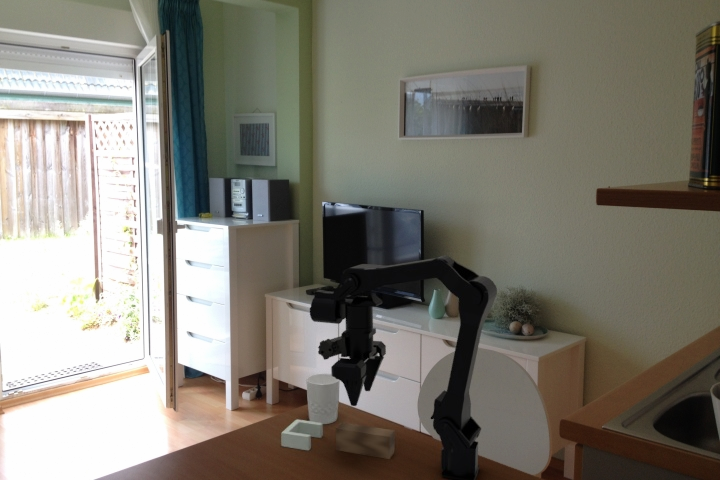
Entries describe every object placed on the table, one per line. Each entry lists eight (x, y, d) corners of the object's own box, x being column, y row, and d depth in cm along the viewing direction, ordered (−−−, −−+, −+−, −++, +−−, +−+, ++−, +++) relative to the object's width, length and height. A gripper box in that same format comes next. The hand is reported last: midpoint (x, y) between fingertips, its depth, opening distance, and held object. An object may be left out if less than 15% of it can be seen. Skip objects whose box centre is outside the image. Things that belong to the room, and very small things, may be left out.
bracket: (322, 435, 146) (322, 423, 145) (308, 450, 138) (308, 437, 138) (296, 431, 148) (296, 419, 147) (281, 446, 140) (281, 432, 140)
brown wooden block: (394, 452, 138) (394, 430, 137) (389, 459, 135) (389, 436, 134) (341, 444, 142) (342, 422, 141) (335, 450, 139) (335, 428, 138)
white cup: (335, 426, 151) (335, 385, 149) (302, 424, 152) (302, 382, 151) (342, 414, 158) (342, 374, 157) (311, 411, 160) (311, 372, 159)
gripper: (338, 313, 146) (340, 381, 148) (306, 334, 129) (308, 410, 130) (385, 316, 143) (387, 385, 144) (359, 337, 125) (360, 415, 127)
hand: (360, 398), depth 136 cm, fingers open, 9 cm apart
